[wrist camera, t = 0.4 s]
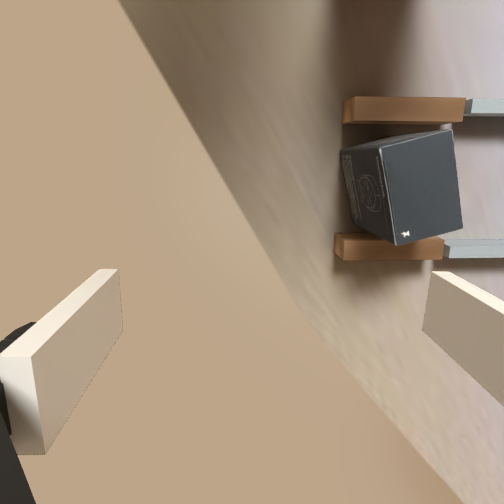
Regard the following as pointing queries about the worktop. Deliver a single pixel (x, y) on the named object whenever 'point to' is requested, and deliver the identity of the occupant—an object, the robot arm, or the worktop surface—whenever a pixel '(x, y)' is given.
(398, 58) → the worktop surface
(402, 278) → the worktop surface
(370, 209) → the box
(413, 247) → the brown bar
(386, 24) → the worktop surface
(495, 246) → the bay
